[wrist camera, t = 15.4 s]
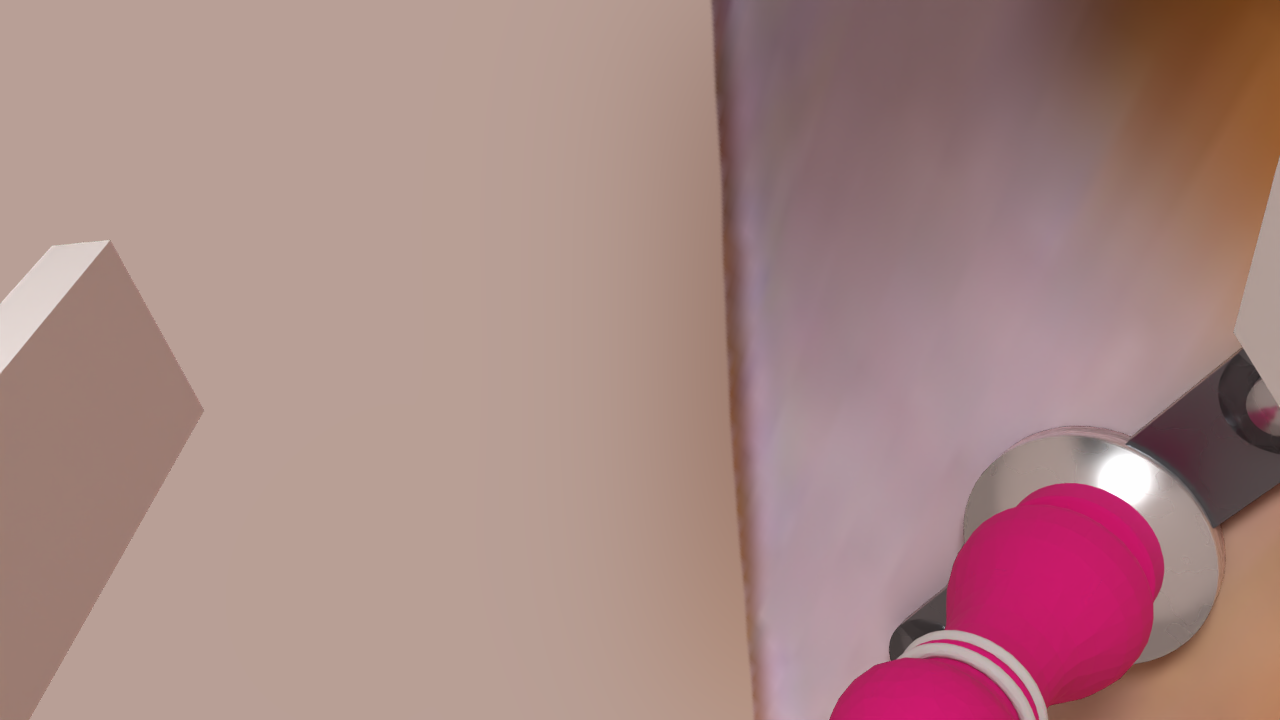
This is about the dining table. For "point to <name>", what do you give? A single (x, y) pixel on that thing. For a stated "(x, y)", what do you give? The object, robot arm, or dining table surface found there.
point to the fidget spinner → (1150, 489)
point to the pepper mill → (1027, 615)
